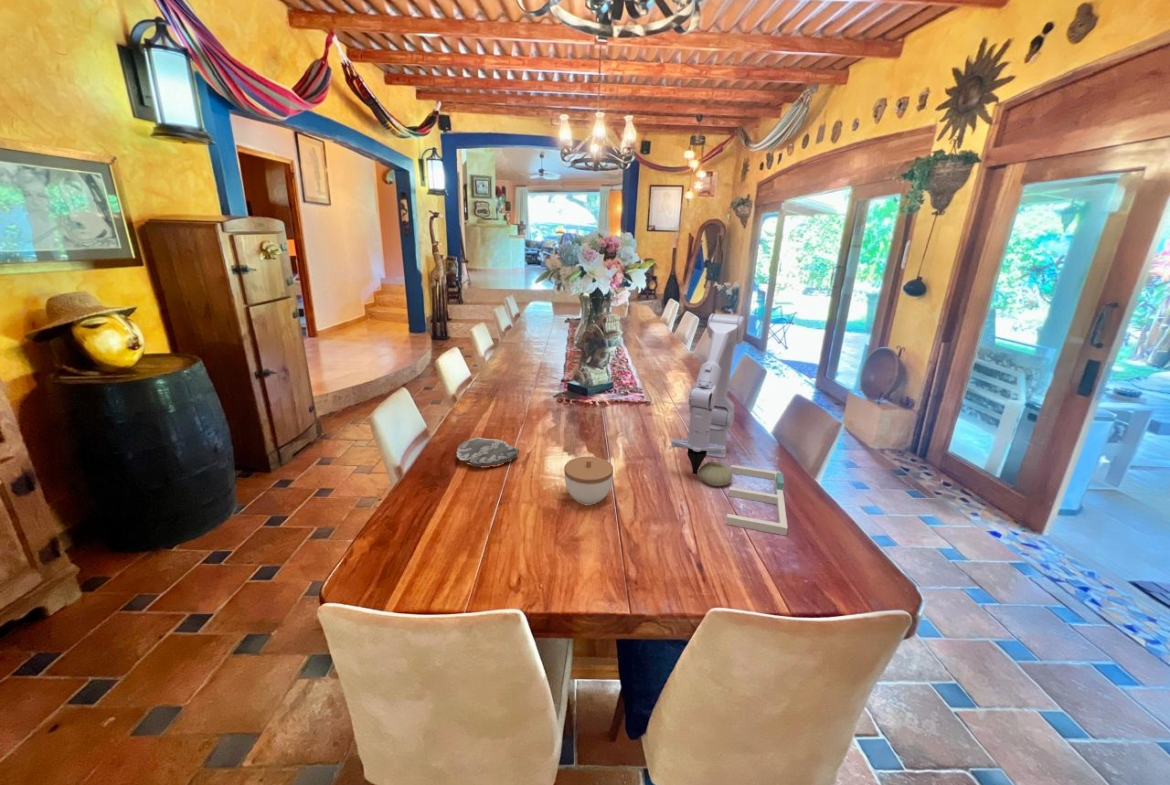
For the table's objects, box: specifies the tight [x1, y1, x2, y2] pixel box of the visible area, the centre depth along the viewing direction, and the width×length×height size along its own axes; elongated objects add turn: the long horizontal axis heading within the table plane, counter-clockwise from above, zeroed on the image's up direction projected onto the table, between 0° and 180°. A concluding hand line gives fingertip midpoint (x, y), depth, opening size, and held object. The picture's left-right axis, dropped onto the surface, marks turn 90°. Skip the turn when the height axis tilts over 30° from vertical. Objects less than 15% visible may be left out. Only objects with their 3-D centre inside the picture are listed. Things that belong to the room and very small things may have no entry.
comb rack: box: [725, 464, 789, 536], centre depth 123 cm, size 14×28×4 cm, turn 161°
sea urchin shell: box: [698, 461, 733, 487], centre depth 132 cm, size 9×8×8 cm
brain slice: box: [456, 437, 520, 468], centre depth 144 cm, size 20×17×3 cm
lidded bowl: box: [563, 456, 614, 506], centre depth 121 cm, size 13×13×11 cm
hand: (695, 472), depth 134 cm, fingers closed
